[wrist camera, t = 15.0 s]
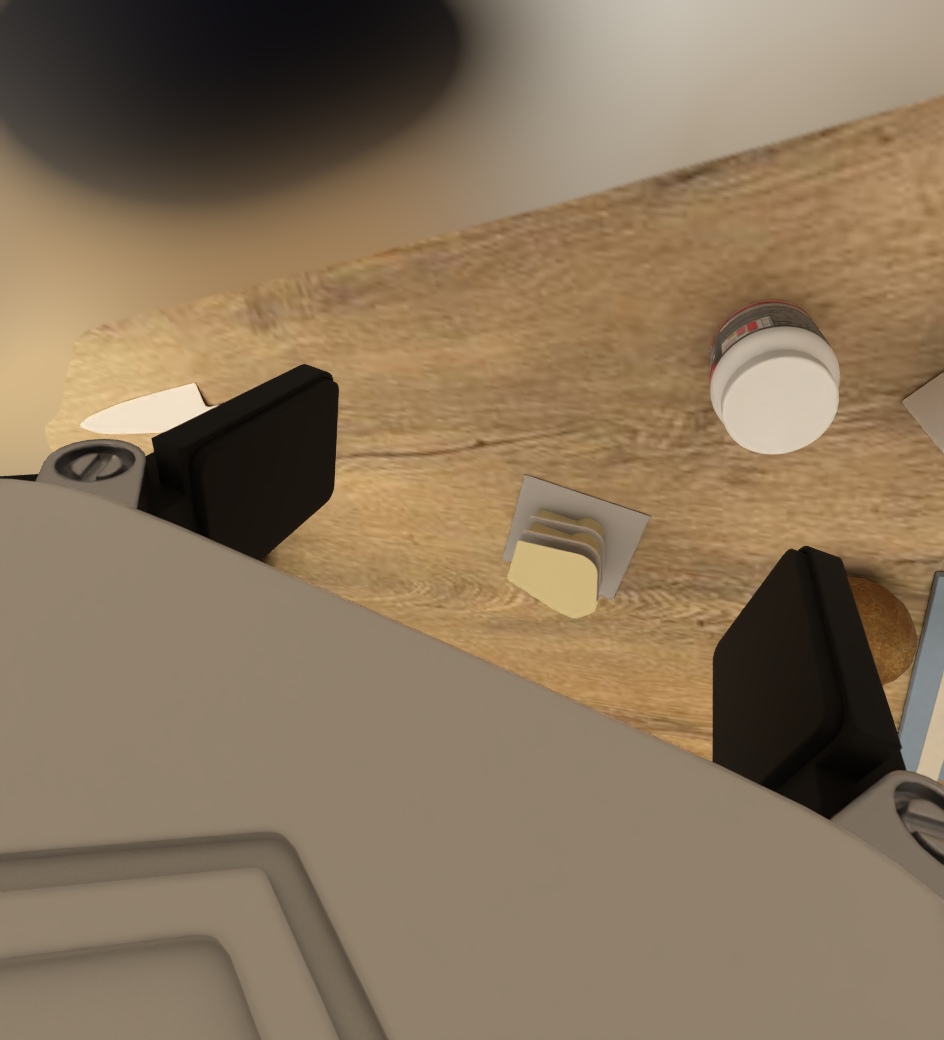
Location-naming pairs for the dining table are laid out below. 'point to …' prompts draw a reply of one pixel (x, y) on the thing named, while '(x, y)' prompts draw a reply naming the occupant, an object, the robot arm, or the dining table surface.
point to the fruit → (885, 628)
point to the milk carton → (929, 409)
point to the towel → (927, 695)
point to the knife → (149, 412)
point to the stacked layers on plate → (570, 546)
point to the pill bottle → (773, 378)
